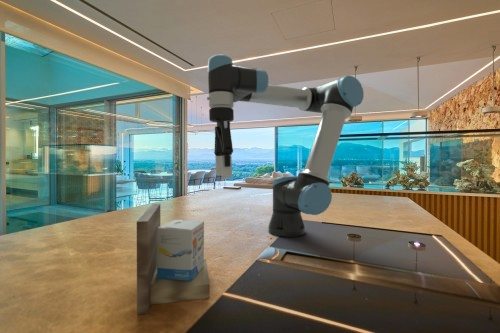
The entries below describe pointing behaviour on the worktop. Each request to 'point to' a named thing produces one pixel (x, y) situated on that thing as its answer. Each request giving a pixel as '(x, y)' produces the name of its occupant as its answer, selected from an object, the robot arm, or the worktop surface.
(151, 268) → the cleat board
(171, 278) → the ink box
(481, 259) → the worktop surface
